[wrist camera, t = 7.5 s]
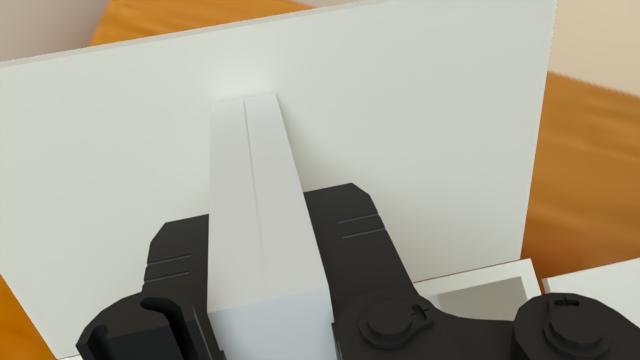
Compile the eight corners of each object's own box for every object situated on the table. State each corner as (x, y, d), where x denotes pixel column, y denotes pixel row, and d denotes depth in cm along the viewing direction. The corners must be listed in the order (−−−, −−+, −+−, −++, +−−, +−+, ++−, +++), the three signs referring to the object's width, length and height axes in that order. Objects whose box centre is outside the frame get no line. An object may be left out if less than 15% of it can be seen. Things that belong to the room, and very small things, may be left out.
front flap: (512, 249, 17) (550, -33, 12) (520, 259, 16) (561, -28, 11) (60, 346, 16) (-110, 79, 11) (56, 359, 15) (-122, 88, 10)
